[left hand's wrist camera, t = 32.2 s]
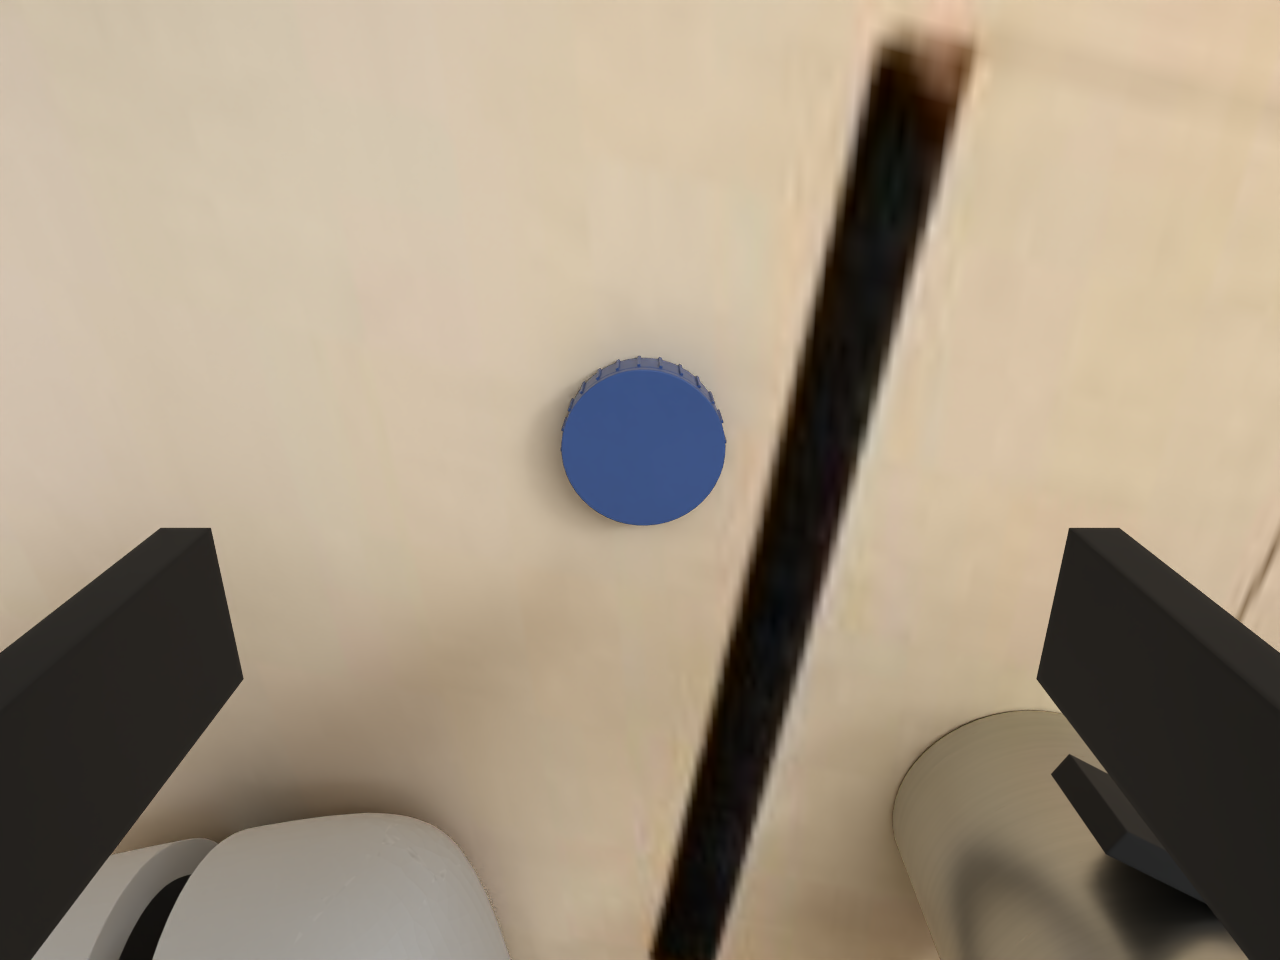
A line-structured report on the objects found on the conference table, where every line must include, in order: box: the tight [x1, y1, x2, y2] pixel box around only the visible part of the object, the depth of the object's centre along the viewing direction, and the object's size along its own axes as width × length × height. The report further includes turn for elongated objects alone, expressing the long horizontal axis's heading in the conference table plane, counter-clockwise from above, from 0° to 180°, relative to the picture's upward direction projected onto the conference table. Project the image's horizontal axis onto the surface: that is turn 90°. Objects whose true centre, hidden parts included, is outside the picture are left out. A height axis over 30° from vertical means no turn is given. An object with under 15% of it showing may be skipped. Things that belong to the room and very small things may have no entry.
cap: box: [561, 356, 726, 525], centre depth 23 cm, size 5×4×2 cm
